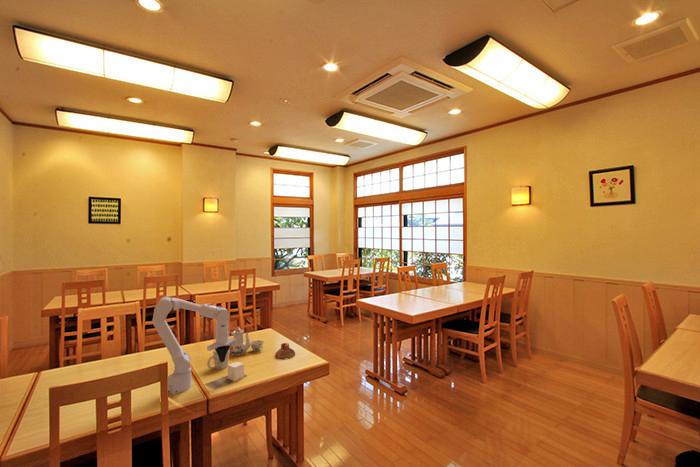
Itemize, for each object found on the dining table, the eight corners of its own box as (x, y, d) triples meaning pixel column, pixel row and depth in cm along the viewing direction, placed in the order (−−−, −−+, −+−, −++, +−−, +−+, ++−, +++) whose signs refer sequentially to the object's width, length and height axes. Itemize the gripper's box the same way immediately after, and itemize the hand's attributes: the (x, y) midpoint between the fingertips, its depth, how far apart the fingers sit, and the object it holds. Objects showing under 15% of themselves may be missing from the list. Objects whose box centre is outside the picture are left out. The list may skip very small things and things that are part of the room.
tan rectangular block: (234, 381, 155) (234, 367, 155) (227, 378, 158) (227, 365, 158) (243, 377, 159) (243, 363, 159) (237, 374, 162) (237, 361, 162)
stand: (215, 391, 146) (215, 389, 146) (204, 386, 151) (204, 384, 151) (248, 377, 161) (248, 375, 161) (237, 373, 166) (237, 371, 166)
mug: (233, 367, 174) (233, 348, 174) (212, 375, 163) (212, 356, 164) (223, 364, 178) (223, 346, 179) (202, 372, 168) (202, 353, 168)
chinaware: (267, 350, 205) (268, 324, 207) (256, 357, 189) (258, 328, 191) (225, 349, 208) (227, 323, 210) (212, 355, 192) (213, 327, 194)
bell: (297, 357, 189) (297, 344, 190) (277, 360, 184) (277, 348, 184) (292, 351, 200) (292, 339, 200) (272, 354, 194) (272, 342, 195)
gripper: (213, 338, 147) (212, 368, 147) (240, 331, 159) (239, 358, 159) (204, 335, 151) (204, 364, 151) (231, 328, 163) (231, 355, 163)
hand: (222, 361), depth 155 cm, fingers closed
